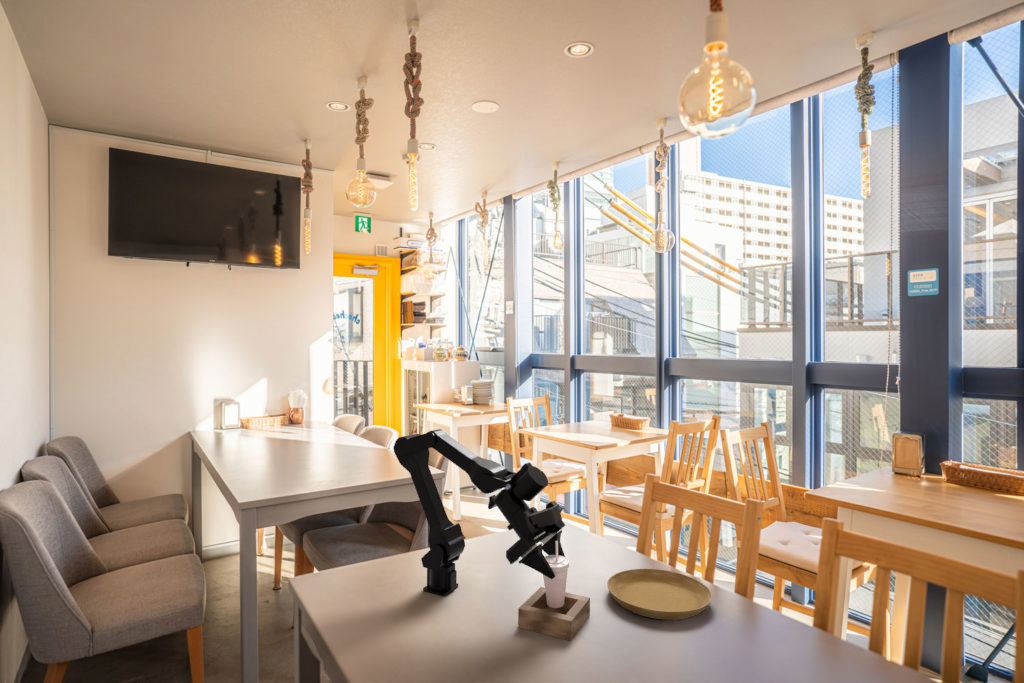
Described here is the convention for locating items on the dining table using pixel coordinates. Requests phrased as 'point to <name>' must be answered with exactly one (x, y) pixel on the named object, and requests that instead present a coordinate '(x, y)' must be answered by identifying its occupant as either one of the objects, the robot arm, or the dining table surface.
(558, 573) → the smoothie
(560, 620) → the caddy
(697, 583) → the plant saucer
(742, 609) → the dining table surface
